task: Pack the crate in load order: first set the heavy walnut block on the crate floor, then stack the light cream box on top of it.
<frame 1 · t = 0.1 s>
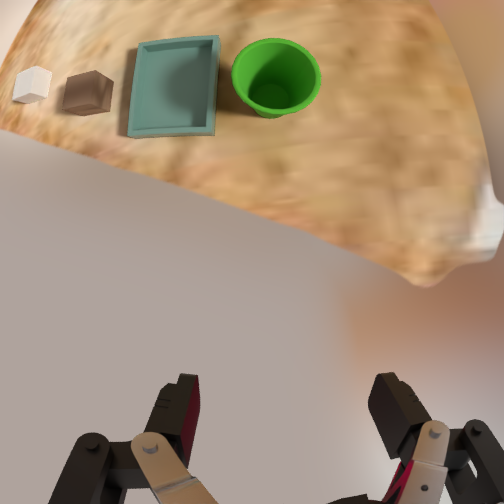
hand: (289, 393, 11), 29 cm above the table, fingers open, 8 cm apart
walnut block: (98, 98, 34), on the table
cream box: (40, 88, 33), on the table
cup: (270, 101, 35), on the table
crate: (177, 88, 34), on the table
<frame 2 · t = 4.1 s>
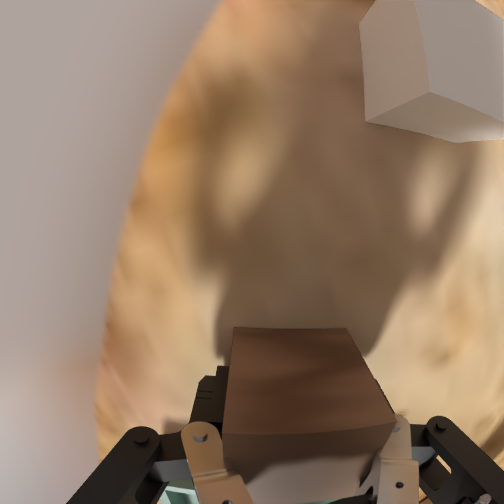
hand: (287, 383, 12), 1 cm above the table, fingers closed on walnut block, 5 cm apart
walnut block: (286, 373, 13), on the table, touching gripper
cream box: (411, 81, 10), on the table
crate: (267, 493, 16), on the table
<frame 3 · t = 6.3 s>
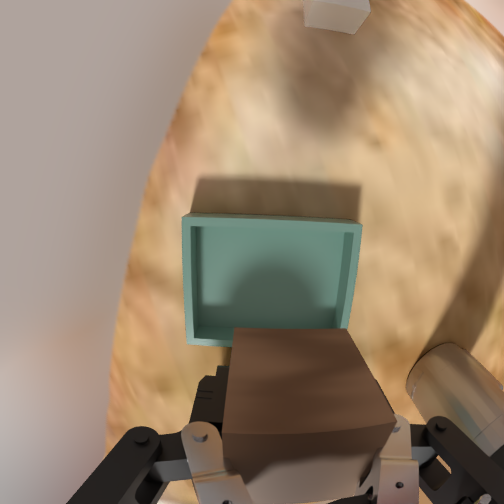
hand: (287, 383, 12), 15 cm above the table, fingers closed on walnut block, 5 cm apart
walnut block: (286, 373, 13), point 14 cm above the table, touching gripper
cream box: (327, 12, 20), on the table
crate: (268, 277, 26), on the table
when the fingers open (3 cm above the table, at t = 8.7 s): walnut block drops 2 cm, resting on crate.
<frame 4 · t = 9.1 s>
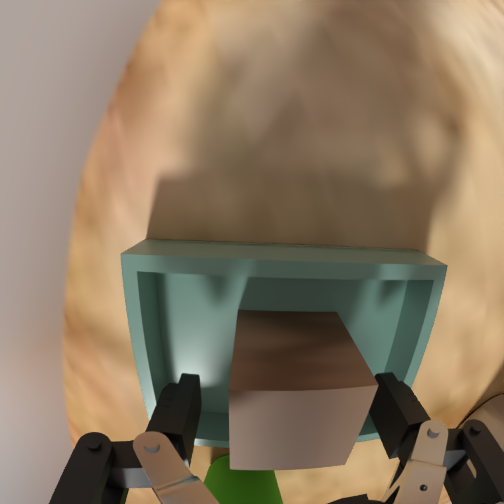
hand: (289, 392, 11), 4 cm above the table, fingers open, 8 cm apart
walnut block: (283, 352, 15), point 1 cm above the table, touching crate
cup: (241, 467, 19), on the table
crate: (281, 345, 15), on the table
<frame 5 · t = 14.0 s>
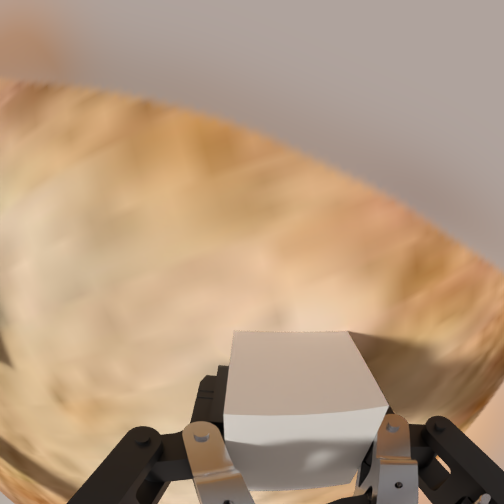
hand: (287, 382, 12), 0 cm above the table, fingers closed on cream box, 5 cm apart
cream box: (287, 376, 13), on the table, touching gripper
when the fingers open (8 cm above the table, at t = 19.1 s): cream box drops 1 cm, resting on walnut block.
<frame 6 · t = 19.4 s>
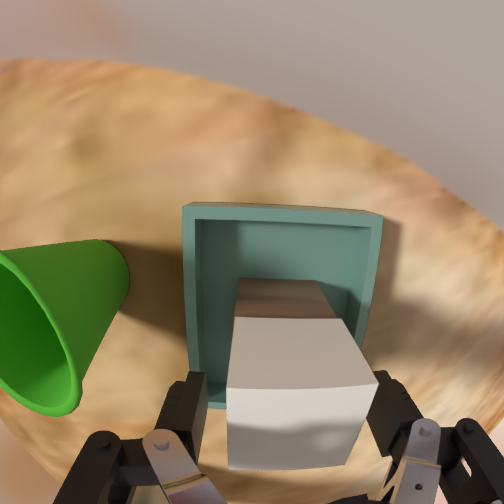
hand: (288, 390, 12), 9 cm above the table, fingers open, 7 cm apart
walnut block: (275, 313, 19), point 1 cm above the table, touching crate, cream box
cream box: (284, 362, 14), point 7 cm above the table, touching walnut block
cup: (102, 271, 20), on the table
crate: (275, 308, 20), on the table
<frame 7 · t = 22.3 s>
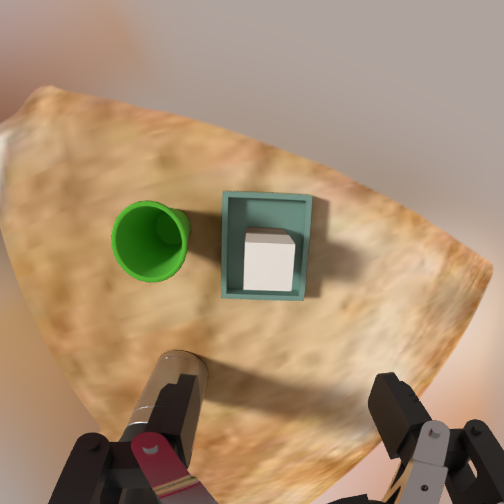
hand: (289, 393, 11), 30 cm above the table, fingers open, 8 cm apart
walnut block: (264, 245, 40), point 1 cm above the table, touching crate, cream box
cream box: (266, 255, 34), point 7 cm above the table, touching walnut block
cup: (173, 226, 40), on the table
crate: (264, 243, 41), on the table
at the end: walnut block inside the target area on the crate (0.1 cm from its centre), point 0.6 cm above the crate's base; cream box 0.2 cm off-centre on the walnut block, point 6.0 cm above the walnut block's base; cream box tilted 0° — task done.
